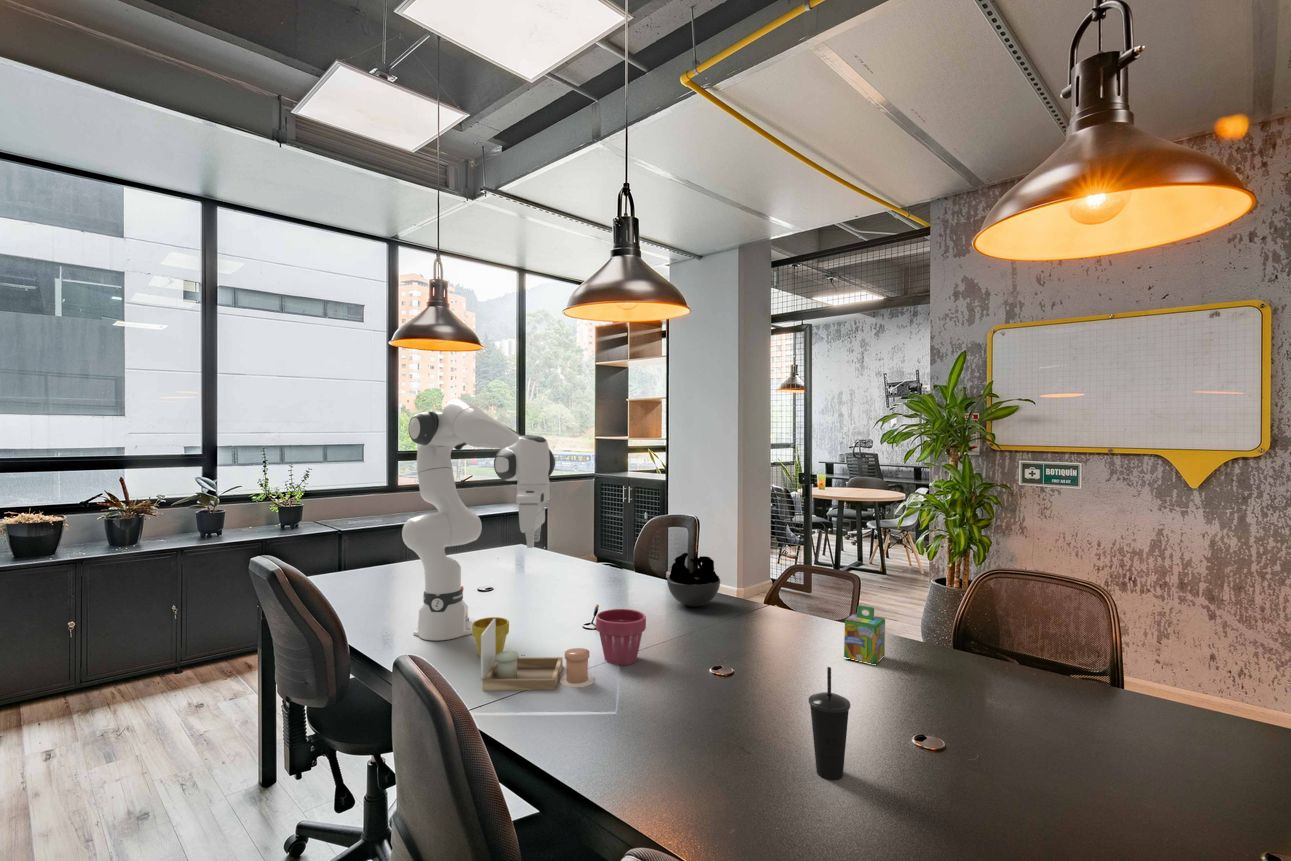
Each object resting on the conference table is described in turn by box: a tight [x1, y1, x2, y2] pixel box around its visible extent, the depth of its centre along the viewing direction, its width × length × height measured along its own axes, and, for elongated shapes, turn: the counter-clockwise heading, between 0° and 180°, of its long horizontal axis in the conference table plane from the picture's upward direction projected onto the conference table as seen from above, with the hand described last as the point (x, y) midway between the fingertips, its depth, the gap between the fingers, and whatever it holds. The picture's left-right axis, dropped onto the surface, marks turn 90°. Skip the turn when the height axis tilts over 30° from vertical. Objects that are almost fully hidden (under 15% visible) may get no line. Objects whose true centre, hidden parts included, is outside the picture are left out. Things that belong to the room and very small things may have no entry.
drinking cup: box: [808, 666, 851, 781], centre depth 118 cm, size 8×8×20 cm
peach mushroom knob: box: [564, 647, 590, 684], centre depth 161 cm, size 6×6×7 cm
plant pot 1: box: [471, 616, 510, 658], centre depth 181 cm, size 10×10×10 cm
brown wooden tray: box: [482, 656, 563, 692], centre depth 163 cm, size 16×18×3 cm
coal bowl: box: [666, 552, 721, 607], centre depth 234 cm, size 20×20×19 cm
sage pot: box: [496, 650, 520, 679], centre depth 163 cm, size 6×6×6 cm
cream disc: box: [559, 673, 595, 689], centre depth 161 cm, size 9×9×1 cm
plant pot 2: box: [595, 608, 647, 666], centre depth 177 cm, size 14×14×13 cm
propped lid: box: [480, 619, 496, 682], centre depth 163 cm, size 14×1×11 cm, turn 1°
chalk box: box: [843, 605, 886, 665], centre depth 178 cm, size 9×9×15 cm
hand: (533, 544), depth 171 cm, fingers open, 8 cm apart
